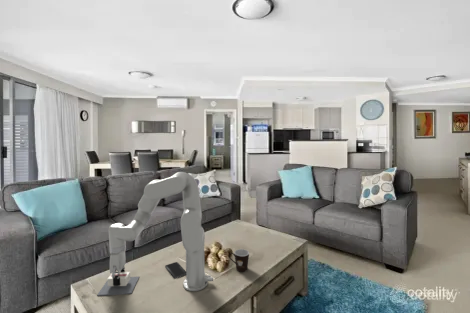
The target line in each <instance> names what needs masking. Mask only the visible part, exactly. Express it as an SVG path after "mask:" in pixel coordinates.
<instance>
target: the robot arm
mask: <svg viewBox="0 0 470 313" xmlns="http://www.w3.org/2000/svg"><path fill="white" fill-rule="evenodd" d="M180 193H182V203H183V213H182V215H181V217H180V230H181V231H180V232H181V241H182V242H181V243H182V246H183V249H184V250H185V271H186V275H185V279H184V280H183V282H182V283H183V284H182V286H183V288H184V289H185V290H187V291H189V292H199V291H202V290H203V289H205V288H206V287H207V286H208V282H214V276H212V275H211V274H208V275H207V274H206V272H205V240H206V239H205V230H204V228H203V226H202V217H203V214H202V213H203V212H202V206H201V196H200V189H199V185H198V183H197V181H196V178H195V177H193V176H192V175H191V174H190V173H187V172H185V171H178V172H176V173H174V174H173V175H171V176H170V177H166V178H164V179H158V178H157V179H156V178H155V179H153V180H151V181H150V182H148V183H147V184H146V185H145V186H144V189H143V195H142V196H141V198H140V200H139V202H138V204H137V207H138V209H137V211H136V212H135V215H134V217H133V219H132V220H131V221H130V222H129V223H128V224H127V225H126V226H125V224H124V223H122V222H116V223H113V224H110V225H109V227H108V243H109V244H108V245H109V248H108V249H109V253H110V255H109V274H112V278H113V286H120V278H119V273H120V272H126V271H125V269H126V267H125V265H126V261H127V260H126V251H127V246H126V245H127V243H126V242H133V241H134V240H136V239H137V238H138V237H139V236H140V234H141V233H142V232H143V230H144V229H145V227H146V226H147V224H148V221H149V220H150V218H151V217H152V215H153V213H154V211H155V210H156V208H157V206H158V205H159V203H160V201H161V200H162V199H165V198H169V197H172V196H175V195H178V194H180ZM115 273H118V275H115Z"/></svg>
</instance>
